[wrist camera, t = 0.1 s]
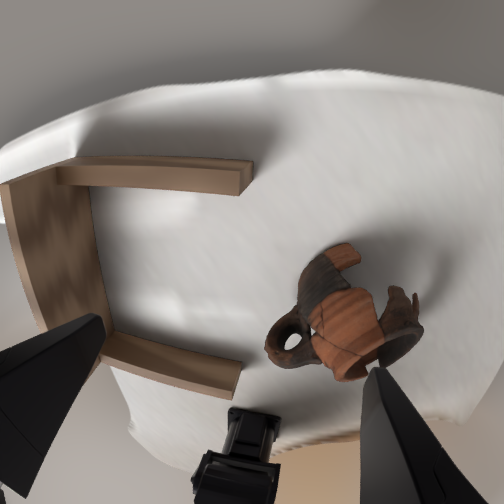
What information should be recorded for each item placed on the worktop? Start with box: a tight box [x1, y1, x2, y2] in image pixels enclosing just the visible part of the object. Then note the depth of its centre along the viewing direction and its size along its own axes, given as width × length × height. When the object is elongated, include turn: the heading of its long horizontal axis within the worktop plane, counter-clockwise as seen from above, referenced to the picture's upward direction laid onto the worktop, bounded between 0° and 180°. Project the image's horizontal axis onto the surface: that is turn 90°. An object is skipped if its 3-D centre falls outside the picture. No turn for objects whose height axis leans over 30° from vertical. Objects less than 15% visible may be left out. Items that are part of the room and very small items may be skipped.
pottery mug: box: [264, 243, 424, 382], centre depth 22 cm, size 12×10×8 cm
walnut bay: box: [0, 156, 253, 400], centre depth 23 cm, size 21×16×9 cm
